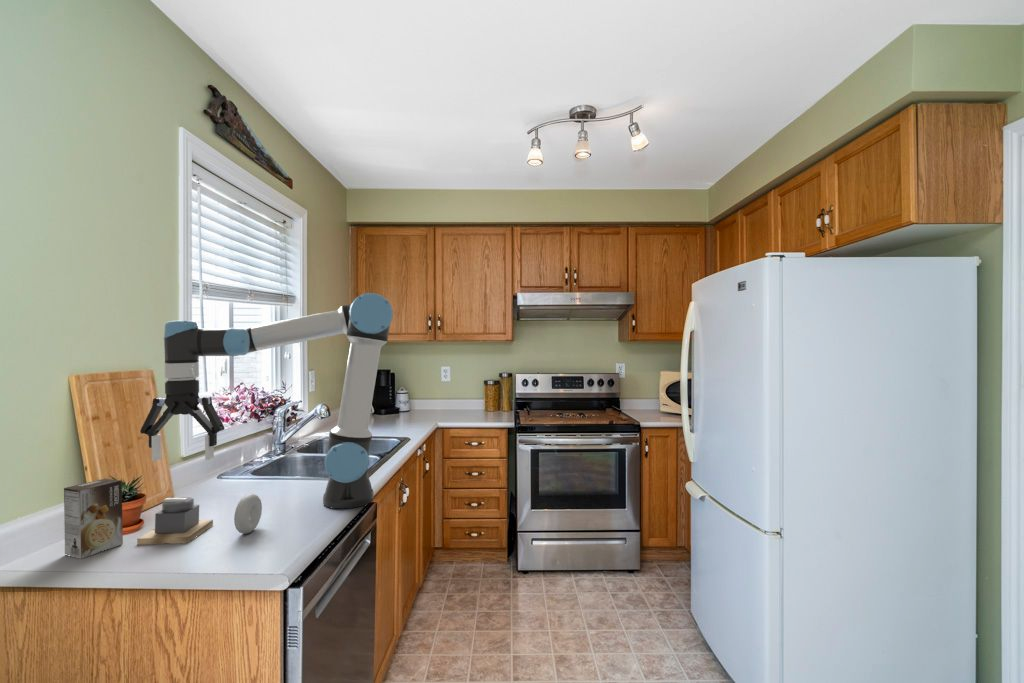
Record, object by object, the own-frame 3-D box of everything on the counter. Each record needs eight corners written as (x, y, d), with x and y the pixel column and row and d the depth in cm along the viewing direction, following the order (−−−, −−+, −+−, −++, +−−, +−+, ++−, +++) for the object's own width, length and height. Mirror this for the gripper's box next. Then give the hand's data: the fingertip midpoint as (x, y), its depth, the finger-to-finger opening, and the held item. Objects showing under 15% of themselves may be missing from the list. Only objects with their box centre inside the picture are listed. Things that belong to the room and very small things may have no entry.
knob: (198, 523, 133) (199, 494, 133) (184, 533, 126) (185, 502, 126) (171, 523, 132) (172, 494, 132) (154, 533, 125) (155, 502, 125)
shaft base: (212, 525, 135) (212, 501, 135) (188, 542, 123) (188, 516, 123) (166, 526, 134) (166, 502, 134) (137, 544, 122) (137, 518, 122)
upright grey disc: (244, 540, 125) (244, 500, 125) (231, 540, 125) (231, 500, 125) (264, 525, 135) (264, 488, 135) (251, 525, 135) (251, 488, 135)
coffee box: (106, 541, 125) (106, 477, 125) (123, 544, 122) (123, 479, 122) (63, 555, 116) (63, 487, 116) (80, 559, 114) (80, 490, 114)
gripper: (237, 377, 135) (238, 454, 135) (143, 378, 134) (144, 457, 134) (222, 379, 128) (223, 461, 128) (122, 381, 126) (124, 463, 126)
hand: (183, 459), depth 131 cm, fingers open, 13 cm apart
